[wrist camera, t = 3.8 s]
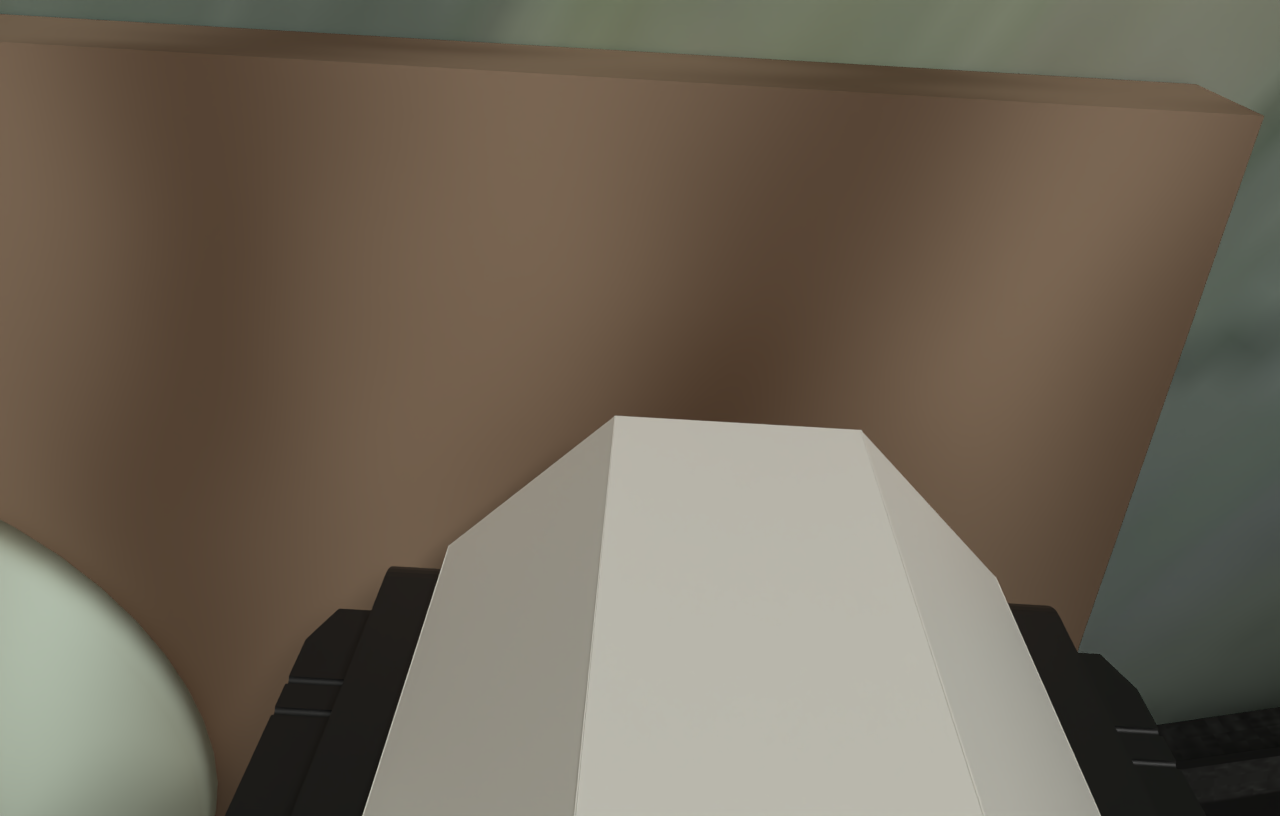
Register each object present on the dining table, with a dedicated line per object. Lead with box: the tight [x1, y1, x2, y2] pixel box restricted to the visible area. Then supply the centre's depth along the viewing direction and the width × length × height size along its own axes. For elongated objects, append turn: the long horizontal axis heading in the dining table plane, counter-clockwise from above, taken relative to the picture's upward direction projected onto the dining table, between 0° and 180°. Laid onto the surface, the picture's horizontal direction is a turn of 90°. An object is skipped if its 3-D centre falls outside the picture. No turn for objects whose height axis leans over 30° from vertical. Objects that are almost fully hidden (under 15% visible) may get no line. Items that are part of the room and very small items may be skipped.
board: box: [0, 14, 1264, 816], centre depth 12 cm, size 23×16×7 cm
